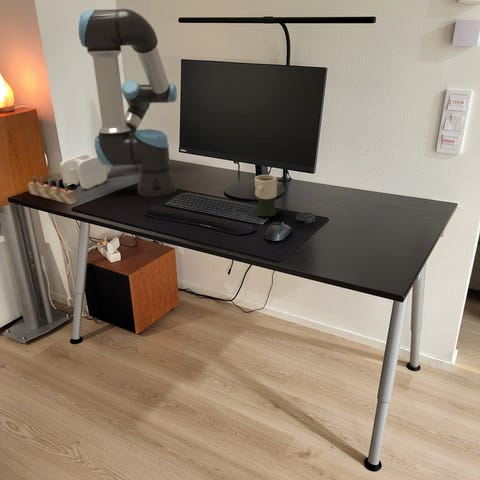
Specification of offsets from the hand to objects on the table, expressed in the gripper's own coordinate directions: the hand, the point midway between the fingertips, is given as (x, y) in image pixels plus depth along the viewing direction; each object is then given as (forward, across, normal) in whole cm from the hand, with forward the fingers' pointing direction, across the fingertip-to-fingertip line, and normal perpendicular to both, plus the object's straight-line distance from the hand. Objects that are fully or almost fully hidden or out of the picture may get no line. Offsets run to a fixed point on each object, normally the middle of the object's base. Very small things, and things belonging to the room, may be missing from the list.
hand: (105, 171), depth 209 cm
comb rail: (+22, -2, +18) cm, 28 cm away
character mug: (+4, -83, 0) cm, 83 cm away
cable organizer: (+10, 0, +5) cm, 11 cm away
